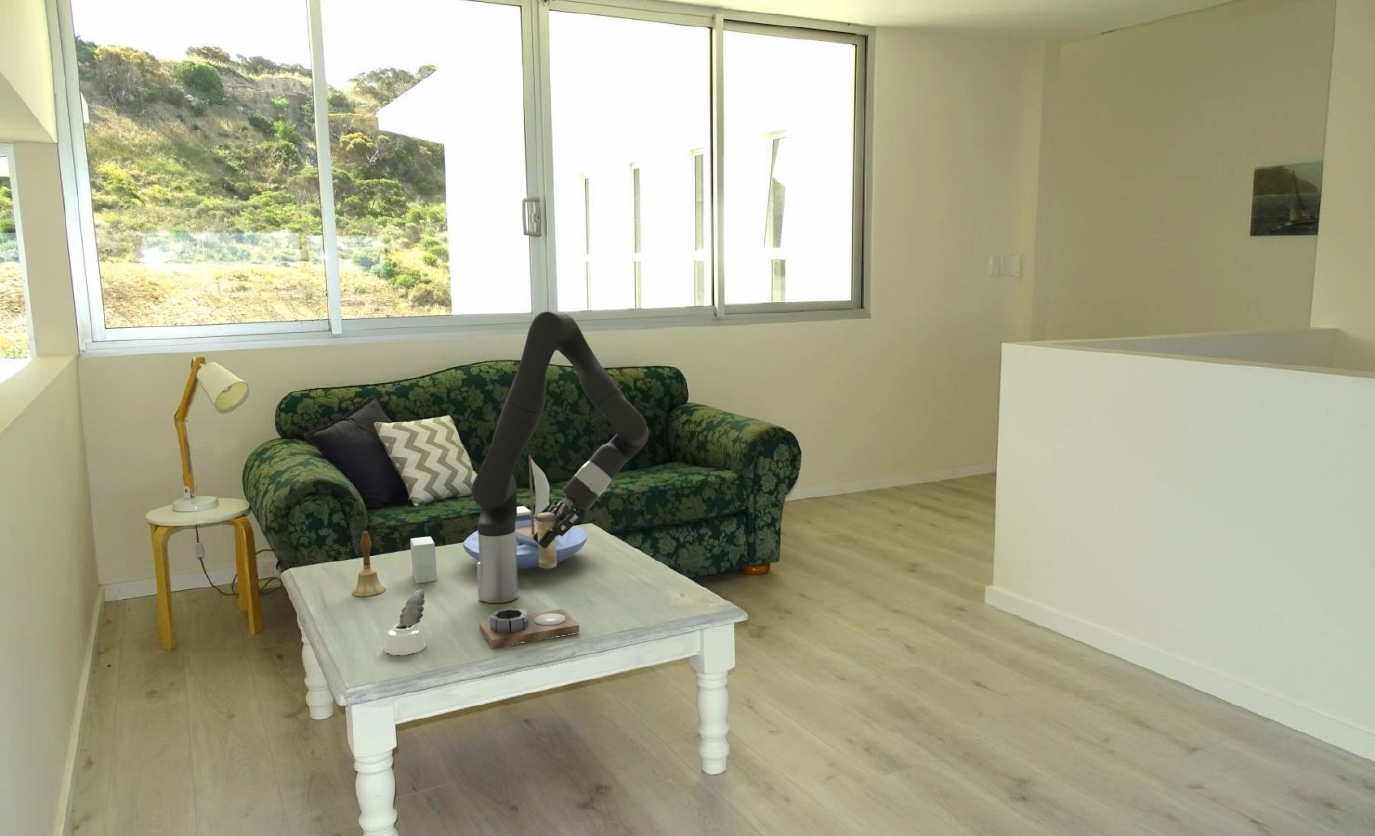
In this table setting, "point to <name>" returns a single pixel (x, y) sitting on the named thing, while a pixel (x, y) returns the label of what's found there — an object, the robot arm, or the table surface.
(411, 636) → the inkwell
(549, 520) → the wooden peg
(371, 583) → the hand bell
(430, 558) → the small box
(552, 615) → the rest disc
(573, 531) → the sailboat
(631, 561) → the table surface
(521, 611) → the ring
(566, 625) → the walnut board
